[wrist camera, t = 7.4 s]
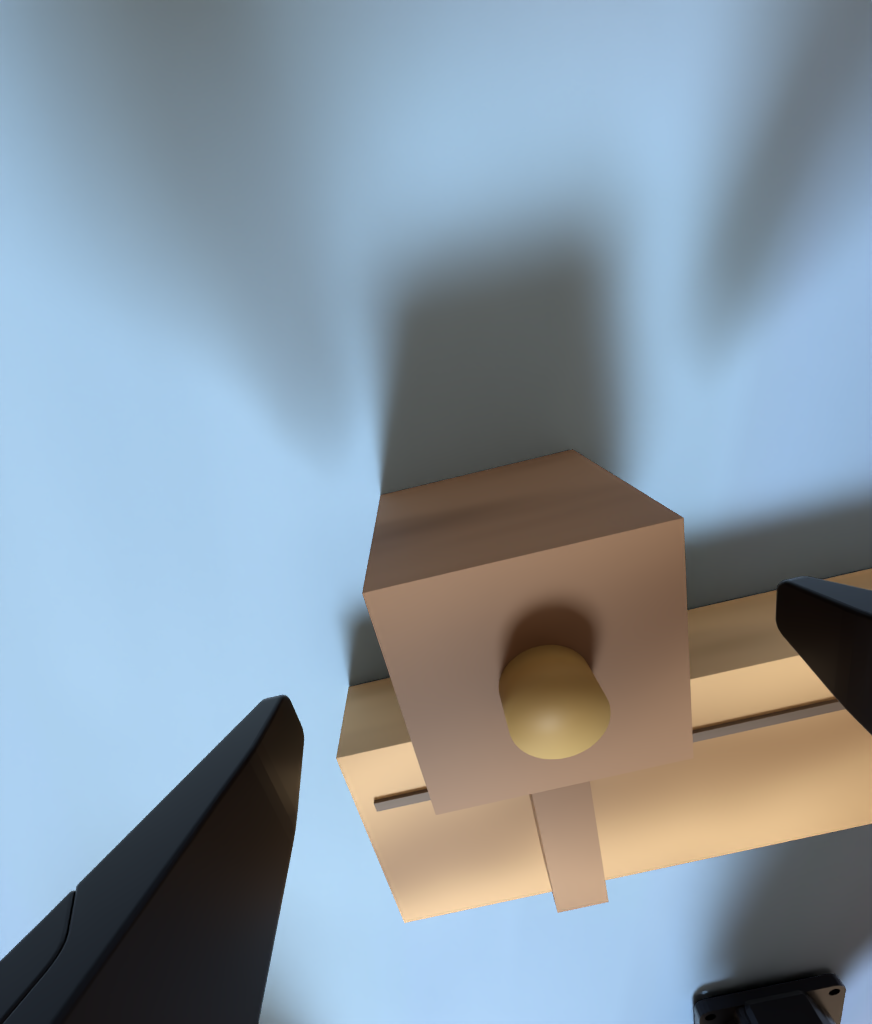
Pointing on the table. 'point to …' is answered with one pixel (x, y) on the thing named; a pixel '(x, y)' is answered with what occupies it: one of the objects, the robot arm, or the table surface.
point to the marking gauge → (535, 643)
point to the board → (632, 776)
